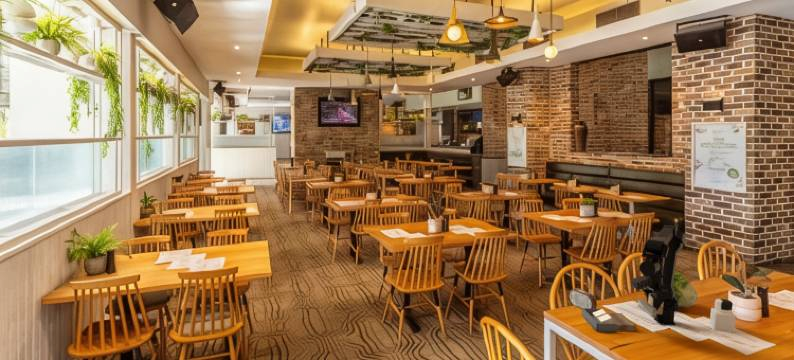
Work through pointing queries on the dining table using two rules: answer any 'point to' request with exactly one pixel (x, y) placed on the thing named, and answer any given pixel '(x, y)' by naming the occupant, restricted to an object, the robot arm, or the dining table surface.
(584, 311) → the tray
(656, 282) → the robot arm
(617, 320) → the board
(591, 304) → the tin
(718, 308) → the medicine bottle
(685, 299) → the lettuce
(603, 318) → the tile
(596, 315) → the tile
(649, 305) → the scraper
